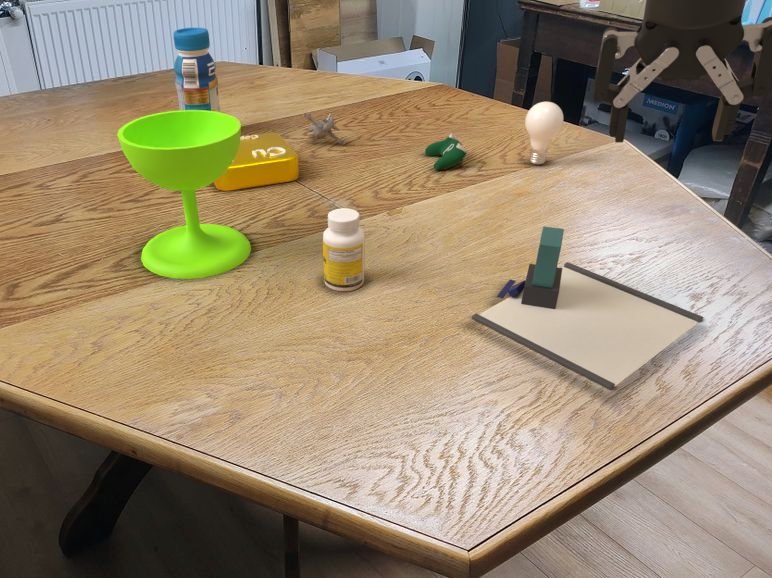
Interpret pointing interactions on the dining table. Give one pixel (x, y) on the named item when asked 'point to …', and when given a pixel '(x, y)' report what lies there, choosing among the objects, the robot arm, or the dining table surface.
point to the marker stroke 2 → (516, 288)
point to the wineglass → (187, 187)
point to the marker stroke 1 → (506, 288)
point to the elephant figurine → (323, 128)
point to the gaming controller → (447, 152)
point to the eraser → (545, 271)
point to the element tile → (260, 163)
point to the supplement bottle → (344, 251)
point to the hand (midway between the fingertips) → (666, 138)
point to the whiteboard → (593, 326)
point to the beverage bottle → (195, 71)
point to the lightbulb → (542, 128)
